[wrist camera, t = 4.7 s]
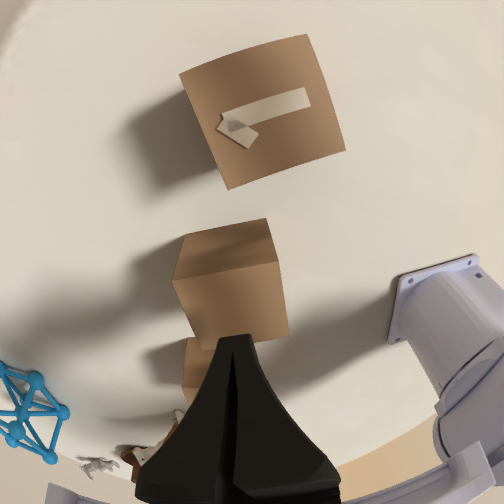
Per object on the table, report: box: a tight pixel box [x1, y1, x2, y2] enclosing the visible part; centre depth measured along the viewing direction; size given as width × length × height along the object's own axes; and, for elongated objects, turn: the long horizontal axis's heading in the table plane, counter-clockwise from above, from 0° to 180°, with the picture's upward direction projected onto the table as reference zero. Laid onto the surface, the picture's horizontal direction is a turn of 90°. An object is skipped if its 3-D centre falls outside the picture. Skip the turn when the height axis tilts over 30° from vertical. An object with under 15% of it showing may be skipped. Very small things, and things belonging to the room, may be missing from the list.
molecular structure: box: [0, 362, 70, 465], centre depth 22 cm, size 10×10×10 cm
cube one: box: [179, 34, 346, 190], centre depth 11 cm, size 5×5×5 cm
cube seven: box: [182, 337, 215, 406], centre depth 21 cm, size 5×5×5 cm
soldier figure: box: [80, 459, 120, 480], centre depth 39 cm, size 8×5×12 cm
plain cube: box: [172, 218, 289, 350], centre depth 16 cm, size 5×5×5 cm
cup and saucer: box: [121, 449, 141, 483], centre depth 34 cm, size 12×12×6 cm
